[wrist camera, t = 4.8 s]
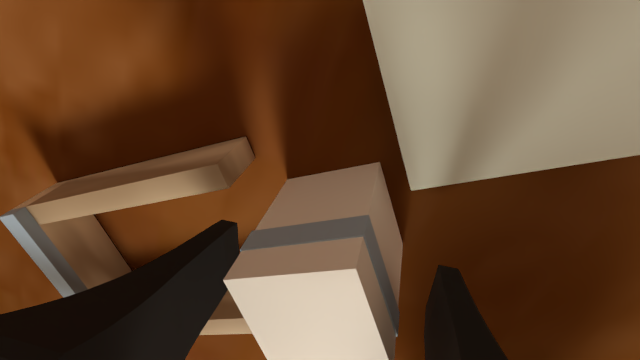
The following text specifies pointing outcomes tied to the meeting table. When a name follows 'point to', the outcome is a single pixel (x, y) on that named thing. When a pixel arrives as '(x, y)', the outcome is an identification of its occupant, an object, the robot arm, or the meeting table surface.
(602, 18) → the stand tile
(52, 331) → the robot arm
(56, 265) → the shelf bay
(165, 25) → the meeting table surface
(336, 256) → the block
